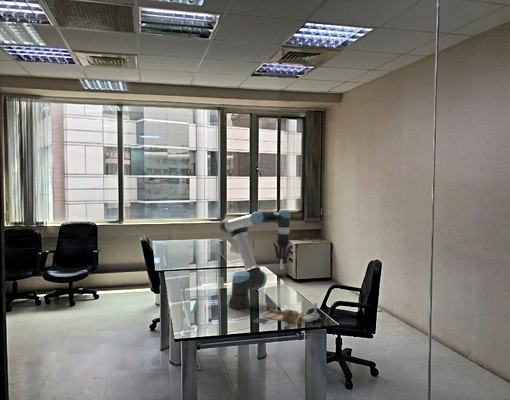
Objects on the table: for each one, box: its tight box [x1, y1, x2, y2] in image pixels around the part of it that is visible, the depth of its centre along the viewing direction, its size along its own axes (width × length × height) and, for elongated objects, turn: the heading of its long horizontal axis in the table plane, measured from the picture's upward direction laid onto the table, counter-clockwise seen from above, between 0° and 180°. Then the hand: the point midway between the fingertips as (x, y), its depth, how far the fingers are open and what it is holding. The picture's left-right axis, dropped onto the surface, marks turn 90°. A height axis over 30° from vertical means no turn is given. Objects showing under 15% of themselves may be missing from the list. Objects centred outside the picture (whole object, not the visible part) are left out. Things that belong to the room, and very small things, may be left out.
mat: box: [252, 317, 270, 325], centre depth 248 cm, size 8×8×1 cm
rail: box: [268, 308, 303, 325], centre depth 255 cm, size 22×11×4 cm, turn 67°
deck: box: [262, 311, 283, 322], centre depth 255 cm, size 21×11×1 cm, turn 67°
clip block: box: [282, 308, 299, 324], centre depth 252 cm, size 8×5×7 cm, turn 67°
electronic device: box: [300, 302, 320, 323], centre depth 257 cm, size 5×10×15 cm
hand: (281, 268), depth 266 cm, fingers closed
